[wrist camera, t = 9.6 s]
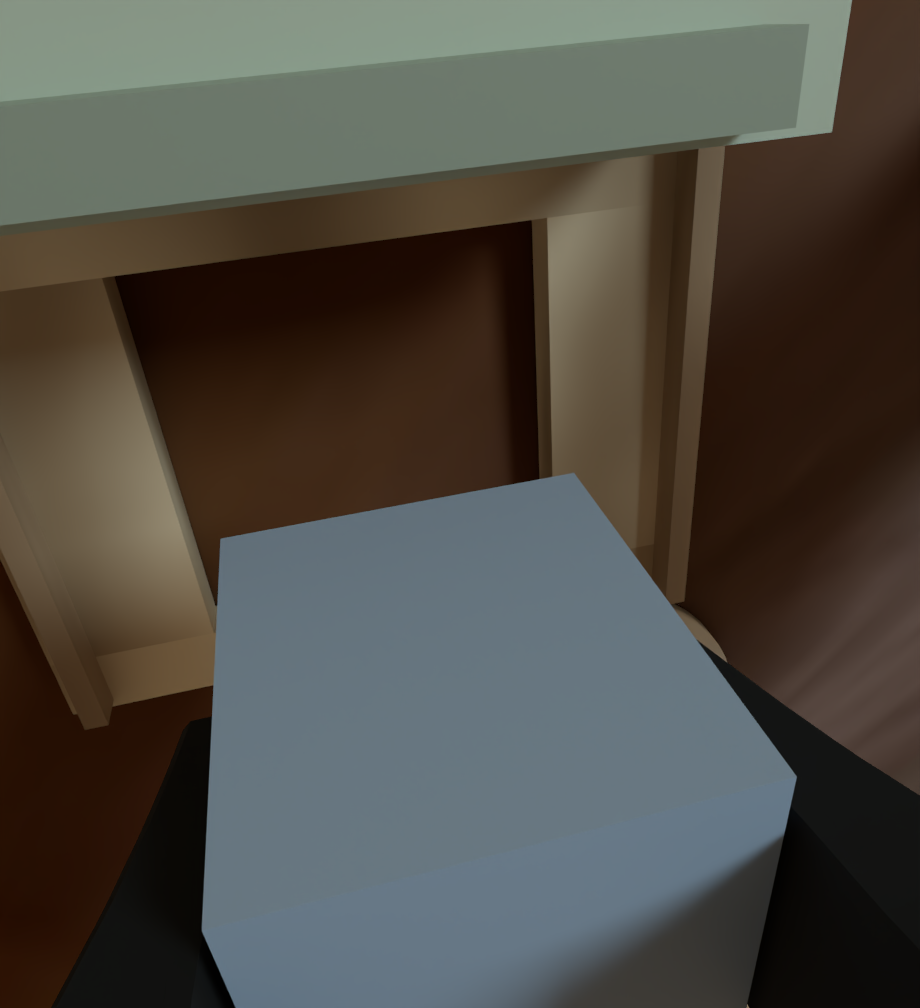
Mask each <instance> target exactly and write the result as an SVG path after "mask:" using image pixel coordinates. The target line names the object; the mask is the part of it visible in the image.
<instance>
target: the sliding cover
mask: <svg viewBox="0 0 920 1008" xmlns="http://www.w3.org/2000/svg"><path fill="white" fill-rule="evenodd" d="M851 3H852V0H0V236H5V235H13V234H21V233H29V232H37V231H45V230H53V229H61V228H69V227H77V226H85V225H93V224H101V223H109V222H117V221H125V220H133V219H141V218H149V217H157V216H165V215H173V214H181V213H189V212H197V211H205V210H213V209H221V208H229V207H237V206H245V205H253V204H261V203H269V202H277V201H285V200H293V199H301V198H309V197H317V196H325V195H333V194H341V193H349V192H357V191H365V190H373V189H381V188H389V187H397V186H405V185H413V184H421V183H429V182H437V181H445V180H453V179H461V178H469V177H477V176H485V175H493V174H501V173H509V172H517V171H525V170H533V169H541V168H549V167H557V166H565V165H573V164H581V163H589V162H597V161H605V160H613V159H621V158H629V157H637V156H645V155H653V154H661V153H669V152H677V151H685V150H693V149H701V148H709V147H717V146H725V145H733V144H741V143H749V142H757V141H765V140H773V139H781V138H789V137H797V136H805V135H813V134H821V133H829V132H832V127H833V121H834V114H835V108H836V101H837V95H838V88H839V81H840V75H841V68H842V62H843V55H844V49H845V42H846V36H847V29H848V22H849V16H850V9H851Z"/></svg>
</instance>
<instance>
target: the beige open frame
mask: <svg viewBox="0 0 920 1008" xmlns="http://www.w3.org/2000/svg"><path fill="white" fill-rule="evenodd" d="M724 151H725V146H717V147H709V148H701V149H693V150H685V151H677V152H669V153H661V154H653V155H645V156H637V157H629V158H621V159H613V160H605V161H597V162H589V163H581V164H573V165H565V166H557V167H549V168H541V169H533V170H525V171H517V172H509V173H501V174H493V175H485V176H477V177H469V178H461V179H453V180H445V181H437V182H429V183H421V184H413V185H405V186H397V187H389V188H381V189H373V190H365V191H357V192H349V193H341V194H333V195H325V196H317V197H309V198H301V199H293V200H285V201H277V202H269V203H261V204H253V205H245V206H237V207H229V208H221V209H213V210H205V211H197V212H189V213H181V214H173V215H165V216H157V217H149V218H141V219H133V220H125V221H117V222H109V223H101V224H93V225H85V226H77V227H69V228H61V229H53V230H45V231H37V232H29V233H21V234H13V235H5V236H0V560H1V562H2V564H3V567H4V569H5V571H6V573H7V575H8V577H9V579H10V581H11V584H12V586H13V588H14V590H15V592H16V594H17V596H18V598H19V601H20V603H21V605H22V607H23V609H24V611H25V613H26V615H27V618H28V620H29V622H30V624H31V626H32V628H33V630H34V632H35V635H36V637H37V639H38V641H39V643H40V645H41V647H42V649H43V652H44V654H45V656H46V658H47V660H48V662H49V664H50V666H51V669H52V671H53V673H54V675H55V677H56V679H57V681H58V683H59V686H60V688H61V690H62V692H63V694H64V696H65V698H66V700H67V703H68V705H69V707H70V709H71V711H72V713H73V715H75V714H78V716H79V719H80V721H81V723H82V725H83V727H84V729H85V730H88V729H93V728H97V727H102V726H107V725H109V721H110V716H111V711H112V707H113V706H117V705H122V704H127V703H131V702H136V701H141V700H146V699H150V698H155V697H160V696H165V695H169V694H174V693H179V692H183V691H188V690H193V689H198V688H202V687H207V686H212V685H214V666H215V645H216V624H217V606H215V603H214V600H213V596H212V593H211V590H210V587H209V583H208V580H207V577H206V574H205V570H204V567H203V564H202V561H201V557H200V554H199V551H198V548H197V544H196V541H195V538H194V535H193V531H192V528H191V525H190V522H189V518H188V515H187V512H186V509H185V505H184V502H183V499H182V495H181V492H180V489H179V486H178V482H177V479H176V476H175V473H174V469H173V466H172V463H171V460H170V456H169V453H168V450H167V447H166V443H165V440H164V437H163V434H162V430H161V427H160V424H159V421H158V417H157V414H156V411H155V408H154V404H153V401H152V398H151V394H150V391H149V388H148V385H147V381H146V378H145V375H144V372H143V368H142V365H141V362H140V359H139V355H138V352H137V349H136V346H135V342H134V339H133V336H132V333H131V329H130V326H129V323H128V320H127V316H126V313H125V310H124V307H123V303H122V300H121V297H120V293H119V290H118V287H117V284H116V280H115V277H114V276H120V275H127V274H134V273H142V272H149V271H157V270H164V269H171V268H179V267H186V266H194V265H201V264H209V263H216V262H223V261H231V260H238V259H246V258H253V257H261V256H268V255H275V254H283V253H290V252H298V251H305V250H313V249H320V248H327V247H335V246H342V245H350V244H357V243H365V242H372V241H379V240H387V239H394V238H402V237H409V236H417V235H424V234H431V233H439V232H446V231H454V230H461V229H469V228H476V227H483V226H491V225H498V224H506V223H513V222H521V221H528V220H532V244H533V277H534V311H535V344H536V377H537V411H538V444H539V477H540V479H543V478H549V477H554V476H560V475H565V474H570V473H575V475H576V476H577V478H578V479H579V480H580V482H581V483H582V484H583V486H584V487H585V488H586V490H587V491H588V493H589V494H590V495H591V497H592V498H593V499H594V501H595V502H596V503H597V505H598V506H599V508H600V509H601V510H602V512H603V513H604V514H605V516H606V517H607V518H608V520H609V521H610V523H611V524H612V525H613V527H614V528H615V529H616V531H617V532H618V533H619V535H620V536H621V538H622V539H623V540H624V542H625V543H626V544H627V546H628V547H629V548H630V550H631V551H632V553H633V554H634V555H635V557H636V558H637V559H638V561H639V562H640V563H641V565H642V566H643V568H644V569H645V570H646V572H647V573H648V574H649V576H650V577H651V578H652V580H653V581H654V583H655V584H656V585H657V587H658V588H659V589H660V591H661V592H662V593H663V595H664V596H665V598H666V599H667V600H668V602H669V603H670V604H675V603H679V602H684V600H685V589H686V579H687V568H688V556H689V545H690V534H691V523H692V511H693V500H694V489H695V477H696V466H697V455H698V444H699V432H700V421H701V410H702V399H703V387H704V376H705V365H706V354H707V342H708V331H709V320H710V309H711V297H712V286H713V275H714V264H715V252H716V241H717V230H718V219H719V207H720V196H721V185H722V174H723V162H724Z"/></svg>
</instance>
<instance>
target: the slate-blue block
mask: <svg viewBox="0 0 920 1008" xmlns="http://www.w3.org/2000/svg"><path fill="white" fill-rule="evenodd" d="M796 778H797V776H796V775H795V774H794V772H793V771H792V769H791V768H790V767H789V765H788V764H787V763H786V761H785V760H784V759H783V757H782V756H781V754H780V753H779V752H778V750H777V749H776V748H775V746H774V745H773V744H772V742H771V741H770V739H769V738H768V737H767V735H766V734H765V733H764V731H763V730H762V729H761V727H760V726H759V724H758V723H757V722H756V720H755V719H754V718H753V716H752V715H751V714H750V712H749V711H748V709H747V708H746V707H745V705H744V704H743V703H742V701H741V700H740V699H739V697H738V696H737V694H736V693H735V692H734V690H733V689H732V688H731V686H730V685H729V684H728V682H727V681H726V679H725V678H724V677H723V675H722V674H721V673H720V671H719V670H718V669H717V667H716V666H715V664H714V663H713V662H712V660H711V659H710V658H709V656H708V655H707V654H706V652H705V651H704V649H703V648H702V647H701V645H700V644H699V643H698V641H697V640H696V638H695V637H694V636H693V634H692V633H691V632H690V630H689V629H688V628H687V626H686V625H685V623H684V622H683V621H682V619H681V618H680V617H679V615H678V614H677V613H676V611H675V610H674V608H673V607H672V606H671V604H670V603H669V602H668V600H667V599H666V598H665V596H664V595H663V593H662V592H661V591H660V589H659V588H658V587H657V585H656V584H655V583H654V581H653V580H652V578H651V577H650V576H649V574H648V573H647V572H646V570H645V569H644V568H643V566H642V565H641V563H640V562H639V561H638V559H637V558H636V557H635V555H634V554H633V553H632V551H631V550H630V548H629V547H628V546H627V544H626V543H625V542H624V540H623V539H622V538H621V536H620V535H619V533H618V532H617V531H616V529H615V528H614V527H613V525H612V524H611V523H610V521H609V520H608V518H607V517H606V516H605V514H604V513H603V512H602V510H601V509H600V508H599V506H598V505H597V503H596V502H595V501H594V499H593V498H592V497H591V495H590V494H589V493H588V491H587V490H586V488H585V487H584V486H583V484H582V483H581V482H580V480H579V479H578V478H577V476H576V475H575V473H570V474H565V475H560V476H554V477H549V478H543V479H538V480H533V481H527V482H522V483H517V484H511V485H506V486H501V487H495V488H490V489H485V490H479V491H474V492H468V493H463V494H458V495H452V496H447V497H442V498H436V499H431V500H426V501H420V502H415V503H410V504H404V505H399V506H394V507H388V508H383V509H377V510H372V511H367V512H361V513H356V514H351V515H345V516H340V517H335V518H329V519H324V520H319V521H313V522H308V523H302V524H297V525H292V526H286V527H281V528H276V529H270V530H265V531H260V532H254V533H249V534H244V535H238V536H233V537H228V538H222V539H221V542H220V562H219V583H218V604H217V624H216V645H215V666H214V687H213V707H212V728H211V749H210V769H209V790H208V811H207V831H206V852H205V873H204V893H203V914H202V933H203V935H204V937H205V939H206V942H207V944H208V946H209V948H210V951H211V953H212V955H213V958H214V960H215V962H216V964H217V967H218V969H219V971H220V973H221V976H222V978H223V980H224V982H225V985H226V987H227V989H228V992H229V994H230V996H231V998H232V1001H233V1003H234V1005H235V1007H236V1008H746V1007H747V1002H748V998H749V993H750V989H751V984H752V979H753V975H754V970H755V966H756V961H757V957H758V952H759V947H760V943H761V938H762V934H763V929H764V925H765V920H766V915H767V911H768V906H769V902H770V897H771V893H772V888H773V883H774V879H775V874H776V870H777V865H778V861H779V856H780V851H781V847H782V842H783V838H784V833H785V829H786V824H787V820H788V815H789V810H790V806H791V801H792V797H793V792H794V788H795V783H796Z"/></svg>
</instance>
